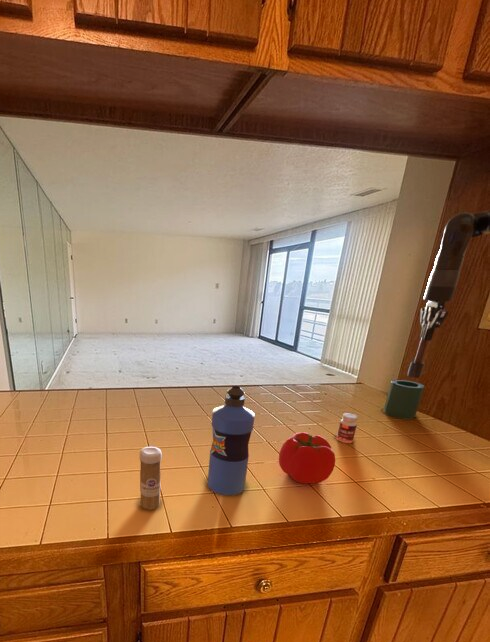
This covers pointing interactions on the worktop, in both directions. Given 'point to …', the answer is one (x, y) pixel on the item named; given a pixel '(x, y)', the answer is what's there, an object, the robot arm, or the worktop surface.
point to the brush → (418, 359)
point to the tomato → (307, 458)
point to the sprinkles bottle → (150, 477)
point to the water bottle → (230, 444)
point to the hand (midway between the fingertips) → (425, 339)
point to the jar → (403, 399)
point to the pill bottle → (347, 428)
